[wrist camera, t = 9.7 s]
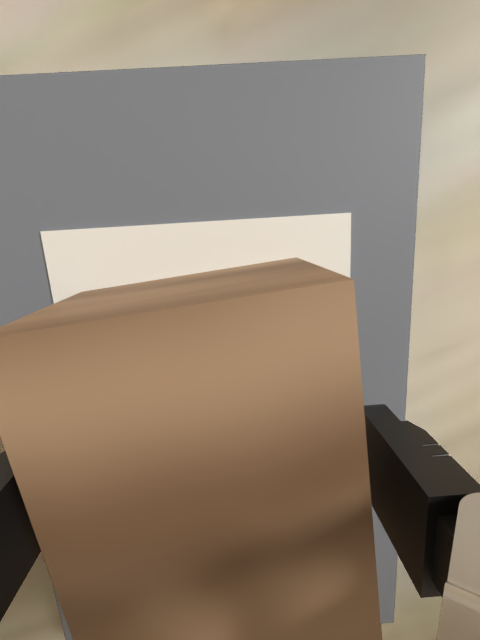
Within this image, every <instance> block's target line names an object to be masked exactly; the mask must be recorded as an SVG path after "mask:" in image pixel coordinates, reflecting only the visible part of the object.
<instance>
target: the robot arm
mask: <svg viewBox="0 0 480 640" xmlns="http://www.w3.org/2000/svg"><path fill="white" fill-rule="evenodd" d="M364 414H365V427H366V440H367V453H368V465H369V478H370V491H371V504H372V507H373V509H374V511H375V512H376V514H377V516H378V518H379V520H380V522H381V524H382V526H383V527H384V529H385V531H386V533H387V535H388V537H389V539H390V541H391V543H392V544H393V546H394V548H395V550H396V552H397V554H398V556H399V558H400V559H401V561H402V563H403V565H404V567H405V569H406V571H407V573H408V574H409V576H410V578H411V580H412V582H413V584H414V586H415V588H416V589H417V591H418V593H419V595H420V597H421V598H423V597H435V596H442V598H443V599H442V605H441V611H440V618H439V624H438V630H437V636H436V640H480V485H479V484H478V483H477V482H476V481H475V480H474V479H473V478H472V477H471V476H470V475H469V474H468V473H467V472H466V471H465V470H464V469H463V468H462V467H461V466H460V465H459V464H458V463H457V462H456V461H455V460H454V459H453V458H452V457H451V456H449V455H448V453H447V452H446V451H445V450H444V449H443V448H442V447H441V446H438V443H437V442H436V441H435V440H434V439H433V438H432V437H431V436H430V435H429V434H428V433H427V432H426V431H425V430H423V429H422V428H420V427H418V426H416V425H414V424H412V423H411V422H409V421H400V420H399V419H398V418H397V416H396V415H395V414H394V413H393V412H392V411H391V410H390V409H389V408H388V407H387V406H386V405H385V404H377V405H364ZM40 552H41V549H40V546H39V544H38V541H37V538H36V535H35V532H34V530H33V527H32V524H31V521H30V518H29V516H28V513H27V510H26V507H25V504H24V502H23V499H22V496H21V493H20V490H19V488H18V485H17V482H16V479H15V476H14V474H13V471H12V468H11V465H10V462H9V460H8V457H7V454H6V451H4V452H3V453H1V454H0V621H1V620H2V618H3V616H4V614H5V613H6V611H7V609H8V607H9V606H10V604H11V602H12V600H13V599H14V597H15V595H16V593H17V592H18V590H19V588H20V586H21V585H22V583H23V581H24V579H25V578H26V576H27V574H28V573H29V571H30V569H31V567H32V566H33V564H34V562H35V560H36V559H37V557H38V555H39V553H40Z"/></svg>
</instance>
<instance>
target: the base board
mask: <svg viewBox="0 0 480 640" xmlns="http://www.w3.org/2000/svg"><path fill="white" fill-rule="evenodd" d="M425 56H426V54H419V55H399V56H379V57H359V58H339V59H319V60H299V61H279V62H259V63H239V64H219V65H199V66H179V67H159V68H139V69H119V70H99V71H79V72H59V73H39V74H19V75H0V327H1V326H3V325H6V324H8V323H10V322H13V321H15V320H17V319H20V318H22V317H24V316H27V315H29V314H31V313H34V312H36V311H38V310H40V309H43V308H45V307H47V306H50V305H52V304H54V303H57V302H59V301H61V300H64V299H66V298H68V297H71V296H73V295H75V294H78V293H80V292H83V291H89V290H96V289H102V288H108V287H114V286H121V285H127V284H133V283H139V282H146V281H152V280H158V279H164V278H170V277H177V276H183V275H189V274H195V273H202V272H208V271H214V270H220V269H227V268H233V267H239V266H245V265H252V264H258V263H264V262H270V261H277V260H283V259H289V258H295V257H297V258H300V259H302V260H305V261H307V262H310V263H313V264H315V265H318V266H321V267H323V268H326V269H328V270H331V271H334V272H336V273H339V274H342V275H344V276H347V277H349V278H352V279H354V286H355V299H356V312H357V325H358V337H359V350H360V363H361V376H362V389H363V401H364V405H377V404H385V405H386V406H387V407H388V408H389V409H390V410H391V411H392V412H393V413H394V414H395V415H396V416H397V418H398V419H399V420H400V421H405V411H406V393H407V375H408V357H409V340H410V322H411V304H412V286H413V269H414V251H415V233H416V216H417V198H418V180H419V162H420V145H421V127H422V109H423V91H424V74H425ZM372 517H373V529H374V542H375V555H376V568H377V581H378V593H379V606H380V619H381V623H393V622H394V606H395V588H396V570H397V552H396V550H395V548H394V546H393V544H392V543H391V541H390V539H389V537H388V535H387V533H386V531H385V529H384V527H383V526H382V524H381V522H380V520H379V518H378V516H377V514H376V512H375V511H374V509H373V507H372ZM53 588H54V586H53ZM54 592H55V596H56V601H57V605H58V609H59V613H60V618H61V622H62V626H63V631H64V635H65V639H66V640H73V639H72V636H71V633H70V630H69V628H68V625H67V622H66V619H65V616H64V614H63V611H62V608H61V605H60V602H59V600H58V597H57V594H56V591H55V588H54Z"/></svg>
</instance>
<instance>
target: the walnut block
mask: <svg viewBox="0 0 480 640" xmlns="http://www.w3.org/2000/svg"><path fill="white" fill-rule="evenodd" d="M0 437H1V440H2V443H3V446H4V448H5V451H6V454H7V457H8V460H9V462H10V465H11V468H12V471H13V474H14V476H15V479H16V482H17V485H18V488H19V490H20V493H21V496H22V499H23V502H24V504H25V507H26V510H27V513H28V516H29V518H30V521H31V524H32V527H33V530H34V532H35V535H36V538H37V541H38V544H39V546H40V549H41V552H42V555H43V558H44V560H45V563H46V566H47V569H48V572H49V574H50V577H51V580H52V583H53V586H54V588H55V591H56V594H57V597H58V600H59V602H60V605H61V608H62V611H63V614H64V616H65V619H66V622H67V625H68V628H69V630H70V633H71V636H72V639H73V640H382V632H381V619H380V606H379V593H378V581H377V568H376V555H375V542H374V529H373V517H372V504H371V491H370V478H369V465H368V453H367V440H366V427H365V414H364V401H363V389H362V376H361V363H360V350H359V337H358V325H357V312H356V299H355V286H354V279H352V278H349V277H347V276H344V275H342V274H339V273H336V272H334V271H331V270H328V269H326V268H323V267H321V266H318V265H315V264H313V263H310V262H307V261H305V260H302V259H300V258H297V257H295V258H289V259H283V260H277V261H270V262H264V263H258V264H252V265H245V266H239V267H233V268H227V269H220V270H214V271H208V272H202V273H195V274H189V275H183V276H177V277H170V278H164V279H158V280H152V281H146V282H139V283H133V284H127V285H121V286H114V287H108V288H102V289H96V290H89V291H83V292H80V293H78V294H75V295H73V296H71V297H68V298H66V299H64V300H61V301H59V302H57V303H54V304H52V305H50V306H47V307H45V308H43V309H40V310H38V311H36V312H34V313H31V314H29V315H27V316H24V317H22V318H20V319H17V320H15V321H13V322H10V323H8V324H6V325H3V326H1V327H0Z"/></svg>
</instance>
